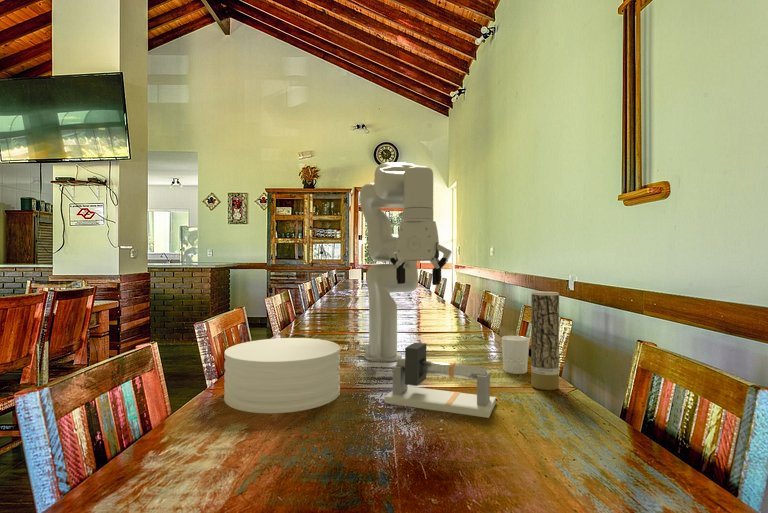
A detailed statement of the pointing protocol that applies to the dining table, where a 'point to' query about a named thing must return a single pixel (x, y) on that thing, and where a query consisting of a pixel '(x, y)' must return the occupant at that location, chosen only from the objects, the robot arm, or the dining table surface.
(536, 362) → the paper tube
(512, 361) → the white cup
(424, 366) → the pipe
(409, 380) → the collar
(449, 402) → the orange strap
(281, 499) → the dining table surface
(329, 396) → the plate stack
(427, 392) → the pipe stand
